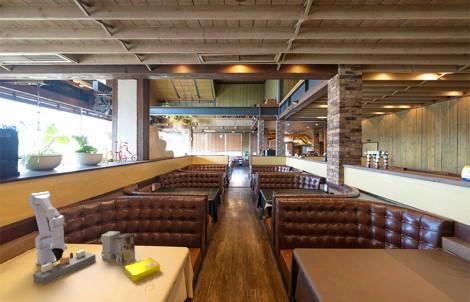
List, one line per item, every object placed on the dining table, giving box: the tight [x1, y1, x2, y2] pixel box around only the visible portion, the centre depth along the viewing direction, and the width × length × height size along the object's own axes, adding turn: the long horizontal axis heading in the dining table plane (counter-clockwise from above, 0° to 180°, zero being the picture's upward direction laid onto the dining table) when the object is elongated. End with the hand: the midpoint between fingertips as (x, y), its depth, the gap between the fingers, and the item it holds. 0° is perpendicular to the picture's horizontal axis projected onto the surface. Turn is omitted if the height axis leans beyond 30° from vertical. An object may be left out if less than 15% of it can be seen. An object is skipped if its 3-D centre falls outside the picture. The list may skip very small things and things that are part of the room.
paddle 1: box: [40, 263, 53, 272], centre depth 129 cm, size 2×4×3 cm, turn 154°
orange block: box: [59, 255, 70, 265], centre depth 137 cm, size 2×4×3 cm, turn 154°
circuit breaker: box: [100, 230, 121, 260], centre depth 152 cm, size 8×14×15 cm, turn 78°
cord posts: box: [43, 252, 74, 265], centre depth 139 cm, size 2×16×5 cm, turn 154°
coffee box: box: [115, 232, 136, 267], centre depth 145 cm, size 9×6×16 cm
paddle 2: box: [75, 249, 86, 258], centre depth 145 cm, size 2×4×3 cm, turn 154°
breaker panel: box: [33, 251, 97, 286], centre depth 136 cm, size 9×28×4 cm, turn 154°
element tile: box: [124, 256, 161, 283], centre depth 131 cm, size 15×15×5 cm
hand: (58, 259), depth 139 cm, fingers closed
